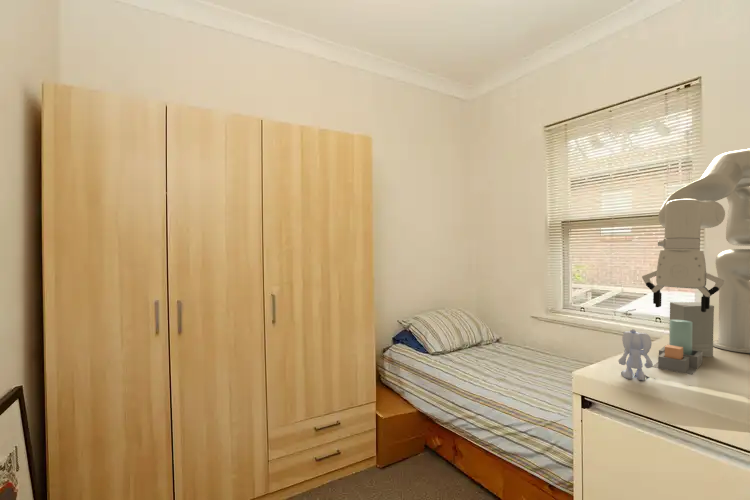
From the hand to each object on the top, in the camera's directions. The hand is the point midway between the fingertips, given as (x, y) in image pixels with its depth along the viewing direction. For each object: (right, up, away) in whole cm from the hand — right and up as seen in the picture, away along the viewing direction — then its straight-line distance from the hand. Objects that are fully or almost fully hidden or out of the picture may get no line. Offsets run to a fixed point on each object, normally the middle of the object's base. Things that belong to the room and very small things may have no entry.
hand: (680, 309), depth 102 cm
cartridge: (0, -14, 0) cm, 14 cm away
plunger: (-6, -14, -5) cm, 16 cm away
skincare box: (+10, -16, +9) cm, 21 cm away
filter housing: (-3, -15, -2) cm, 16 cm away
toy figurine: (-19, -15, -10) cm, 26 cm away
